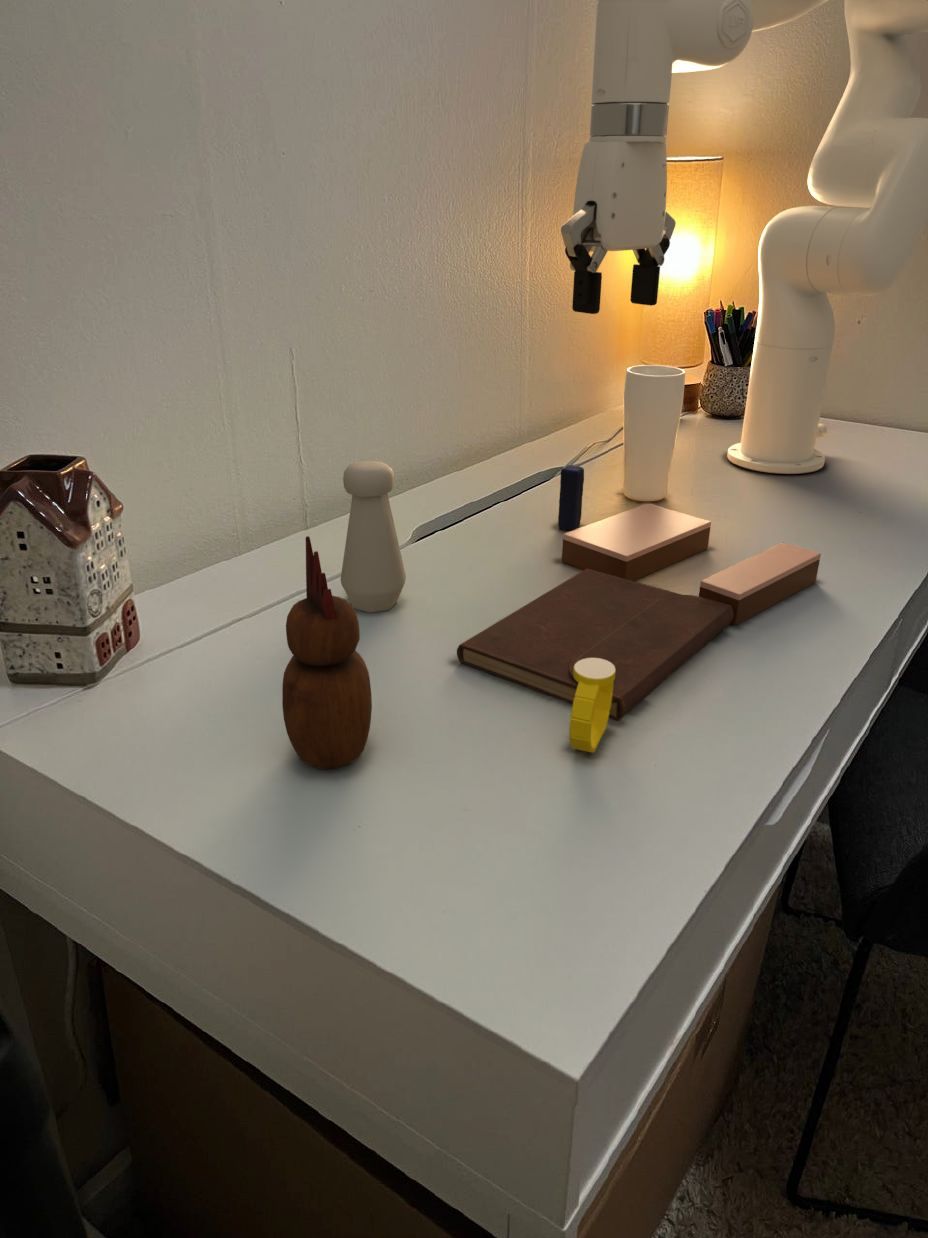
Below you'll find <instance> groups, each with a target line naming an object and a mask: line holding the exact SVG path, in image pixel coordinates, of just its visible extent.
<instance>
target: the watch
mask: <svg viewBox="0 0 928 1238" xmlns="http://www.w3.org/2000/svg"><path fill="white" fill-rule="evenodd" d="M615 671H616V670H615V666H614V665H613V664H612V663H611V662H609V661H607V660H604V659H601V658H586V659H582V660H580V661H578V662H577V663H576V664H575V665H574V668H573V676H574V679H575V680H576V681H577V682H578V686H577V689H576V693H575V698H574V701H573V704H572V707H571V711H570V712H571V713H570V718H569V731H568V732H569V734H568V735H569V742H570V746H571V749H574V750H578V751H583V752H587V753H592V754H594V753H596V750H597V748H598V745H599V743H600V742H601V740H602V737H603V735H604V733H605V732H606V729H607V726H608V722H609V719H610V718H609V714H610V709H611V703H612V696H613V683H614V679H615Z"/></svg>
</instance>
